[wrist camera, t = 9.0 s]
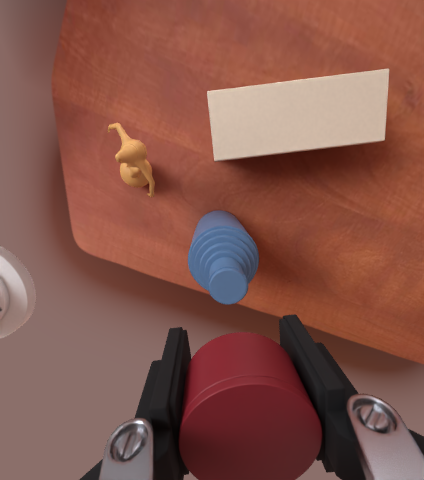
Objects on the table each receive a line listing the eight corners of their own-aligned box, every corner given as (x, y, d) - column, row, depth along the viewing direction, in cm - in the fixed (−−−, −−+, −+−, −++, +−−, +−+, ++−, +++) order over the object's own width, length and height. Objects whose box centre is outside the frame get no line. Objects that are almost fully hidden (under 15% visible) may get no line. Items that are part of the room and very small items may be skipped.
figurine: (111, 152, 32) (54, 134, 20) (148, 128, 31) (112, 96, 19) (145, 205, 33) (110, 218, 22) (181, 184, 33) (165, 186, 21)
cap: (168, 401, 9) (156, 471, 7) (213, 315, 8) (216, 362, 6) (262, 434, 10) (279, 509, 8) (314, 355, 9) (350, 414, 7)
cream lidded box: (213, 164, 32) (214, 160, 26) (207, 109, 30) (207, 91, 24) (351, 148, 32) (385, 140, 26) (353, 91, 30) (389, 68, 24)
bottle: (213, 264, 36) (216, 344, 18) (185, 228, 34) (161, 276, 17) (251, 239, 35) (293, 297, 17) (225, 200, 33) (242, 221, 16)
